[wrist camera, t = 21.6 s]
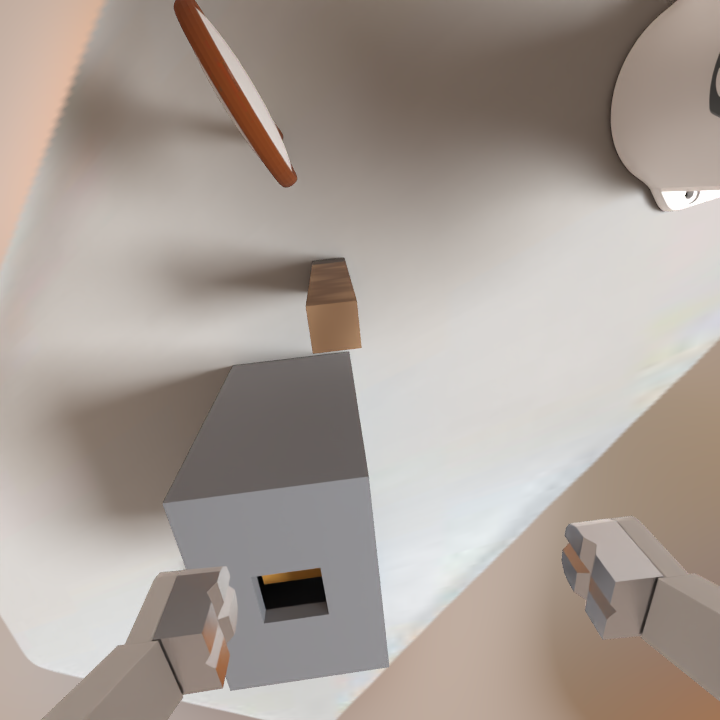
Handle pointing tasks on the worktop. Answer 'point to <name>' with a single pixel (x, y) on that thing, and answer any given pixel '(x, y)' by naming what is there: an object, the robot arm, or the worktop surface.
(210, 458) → the grey tissue box
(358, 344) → the long brown rectangular block
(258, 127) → the magnifying glass
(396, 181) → the worktop surface
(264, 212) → the worktop surface
